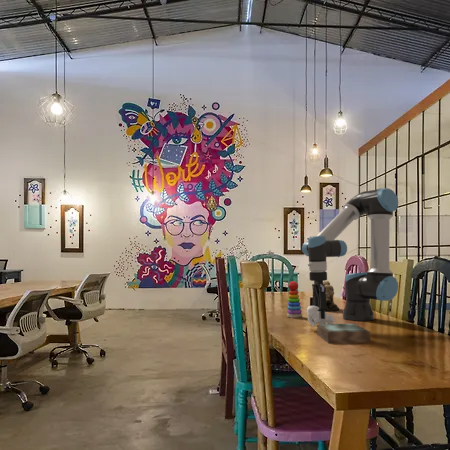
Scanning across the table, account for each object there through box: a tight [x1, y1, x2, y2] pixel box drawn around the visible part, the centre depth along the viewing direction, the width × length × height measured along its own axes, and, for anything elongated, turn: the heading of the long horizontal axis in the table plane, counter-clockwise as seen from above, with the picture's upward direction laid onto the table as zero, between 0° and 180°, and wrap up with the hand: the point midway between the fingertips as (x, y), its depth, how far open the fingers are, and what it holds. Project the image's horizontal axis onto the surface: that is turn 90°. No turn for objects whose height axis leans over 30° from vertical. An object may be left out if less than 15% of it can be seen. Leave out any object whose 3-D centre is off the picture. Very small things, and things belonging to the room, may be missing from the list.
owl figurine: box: [323, 280, 340, 313], centre depth 242 cm, size 18×12×17 cm, turn 164°
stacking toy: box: [286, 280, 303, 319], centre depth 217 cm, size 8×8×19 cm
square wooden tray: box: [316, 323, 371, 344], centre depth 163 cm, size 16×16×4 cm
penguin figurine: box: [306, 305, 335, 328], centre depth 179 cm, size 6×8×12 cm
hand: (320, 324), depth 179 cm, fingers closed on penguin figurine, 6 cm apart
